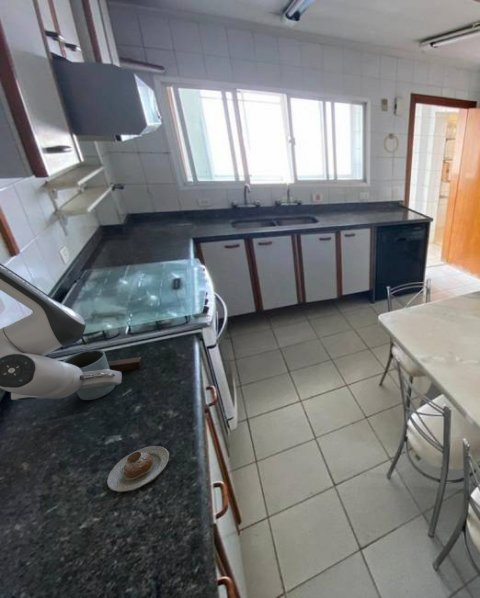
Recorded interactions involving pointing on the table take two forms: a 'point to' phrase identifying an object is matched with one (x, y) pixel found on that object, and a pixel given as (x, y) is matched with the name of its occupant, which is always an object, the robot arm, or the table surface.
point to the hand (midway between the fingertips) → (87, 386)
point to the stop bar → (125, 364)
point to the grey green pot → (90, 362)
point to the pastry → (138, 469)
